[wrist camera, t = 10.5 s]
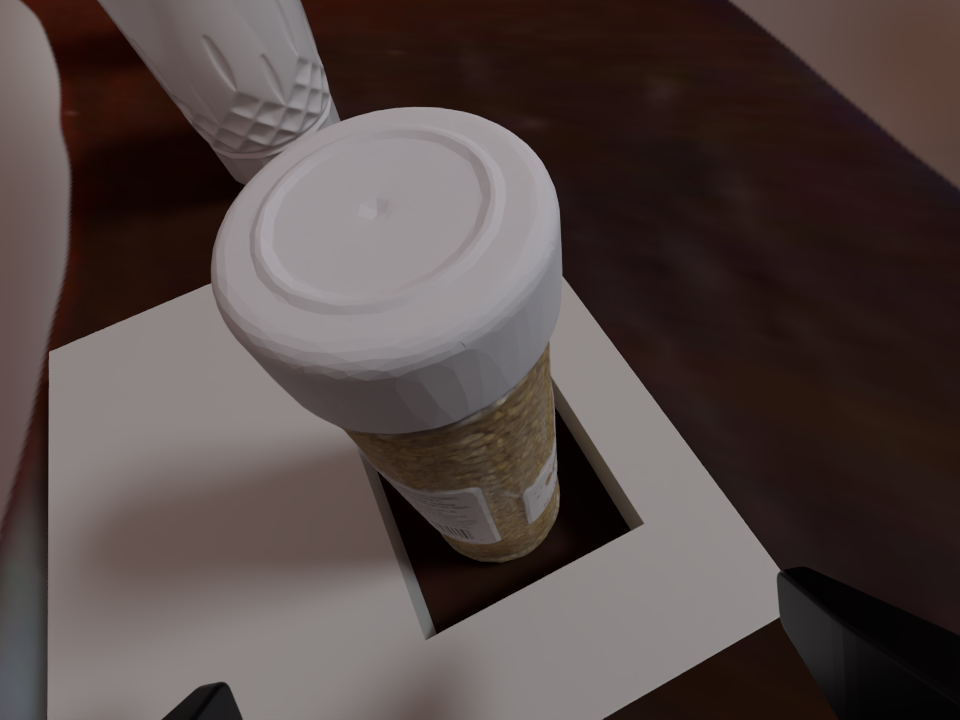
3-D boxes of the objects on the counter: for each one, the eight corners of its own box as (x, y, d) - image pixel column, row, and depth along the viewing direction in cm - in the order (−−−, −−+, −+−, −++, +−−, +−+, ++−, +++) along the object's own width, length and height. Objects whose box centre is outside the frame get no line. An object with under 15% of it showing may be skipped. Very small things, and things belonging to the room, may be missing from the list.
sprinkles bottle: (587, 506, 17) (648, 207, 6) (480, 596, 16) (289, 457, 5) (504, 411, 19) (425, 52, 8) (405, 485, 18) (147, 203, 7)
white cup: (309, 211, 26) (190, -2, 18) (194, 186, 29) (39, -14, 20) (378, 116, 30) (306, -102, 21) (270, 101, 32) (165, -102, 23)
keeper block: (775, 608, 15) (804, 602, 13) (114, 988, 13) (45, 1039, 11) (487, 201, 25) (482, 168, 23) (87, 374, 23) (48, 352, 21)
